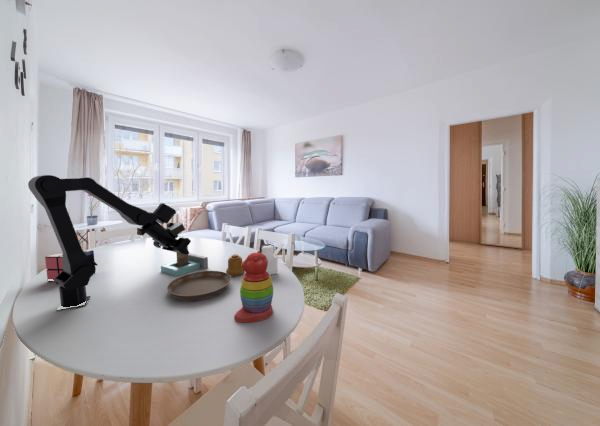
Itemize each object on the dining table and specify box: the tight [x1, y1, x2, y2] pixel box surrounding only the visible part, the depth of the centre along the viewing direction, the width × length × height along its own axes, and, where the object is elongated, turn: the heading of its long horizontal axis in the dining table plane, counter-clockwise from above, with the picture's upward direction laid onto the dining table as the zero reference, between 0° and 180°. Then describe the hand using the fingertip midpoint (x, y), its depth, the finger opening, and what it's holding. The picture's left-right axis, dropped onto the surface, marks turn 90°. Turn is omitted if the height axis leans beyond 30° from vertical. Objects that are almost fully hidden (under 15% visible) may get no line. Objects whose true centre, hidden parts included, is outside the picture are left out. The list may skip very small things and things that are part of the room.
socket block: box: [160, 260, 201, 277], centre depth 100 cm, size 11×11×2 cm
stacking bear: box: [234, 250, 274, 323], centre depth 65 cm, size 11×10×18 cm
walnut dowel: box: [176, 245, 189, 268], centre depth 101 cm, size 4×4×11 cm
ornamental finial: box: [225, 253, 245, 277], centre depth 97 cm, size 8×8×8 cm
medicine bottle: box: [259, 243, 278, 276], centre depth 98 cm, size 7×7×12 cm
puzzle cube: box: [44, 249, 96, 280], centre depth 92 cm, size 10×10×10 cm
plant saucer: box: [166, 270, 232, 301], centre depth 81 cm, size 21×21×3 cm
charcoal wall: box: [188, 252, 209, 270], centre depth 106 cm, size 2×16×5 cm, turn 60°
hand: (185, 253), depth 102 cm, fingers closed on walnut dowel, 4 cm apart
